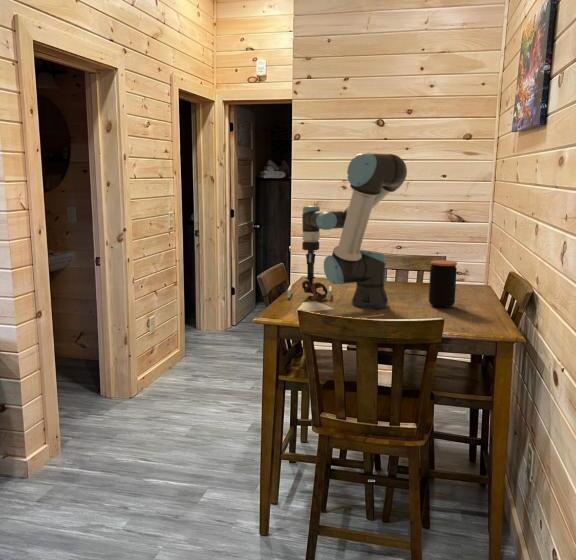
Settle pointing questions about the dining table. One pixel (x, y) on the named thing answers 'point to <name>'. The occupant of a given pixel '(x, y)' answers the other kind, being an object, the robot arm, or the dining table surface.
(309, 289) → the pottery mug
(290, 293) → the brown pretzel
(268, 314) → the dining table surface
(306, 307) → the mat
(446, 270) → the coffee jar
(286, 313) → the dining table surface
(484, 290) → the dining table surface
